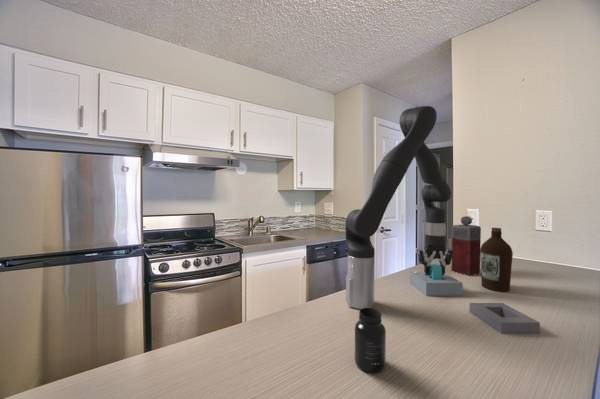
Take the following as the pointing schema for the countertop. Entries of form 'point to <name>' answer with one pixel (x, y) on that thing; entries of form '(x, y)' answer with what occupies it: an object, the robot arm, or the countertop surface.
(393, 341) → the countertop surface
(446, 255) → the robot arm
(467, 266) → the red canister
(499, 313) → the holster
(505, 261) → the brown glass bottle
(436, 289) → the block
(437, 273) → the plug
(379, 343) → the supplement bottle
